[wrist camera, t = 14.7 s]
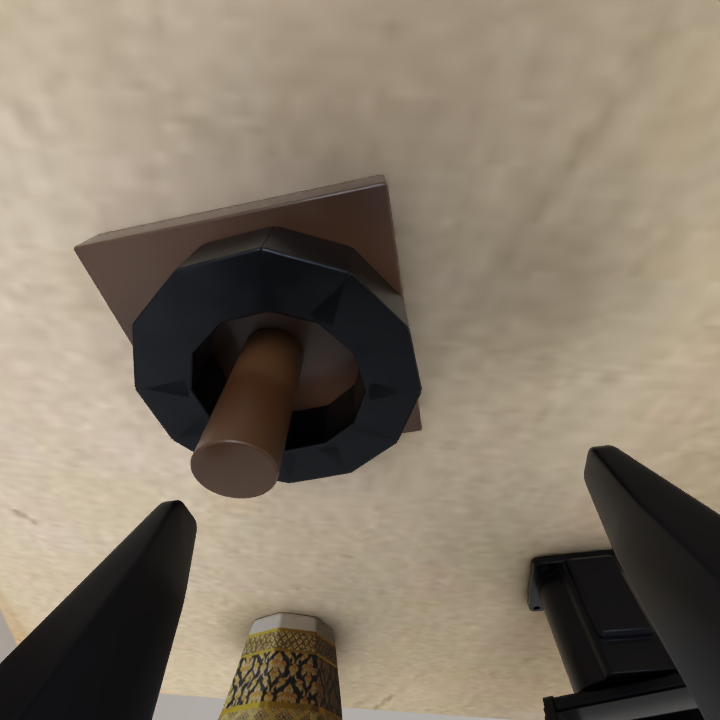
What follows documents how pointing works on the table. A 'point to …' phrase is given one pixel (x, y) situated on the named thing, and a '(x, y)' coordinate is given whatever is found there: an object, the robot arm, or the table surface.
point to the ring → (291, 298)
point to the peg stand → (254, 321)
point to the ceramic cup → (286, 672)
